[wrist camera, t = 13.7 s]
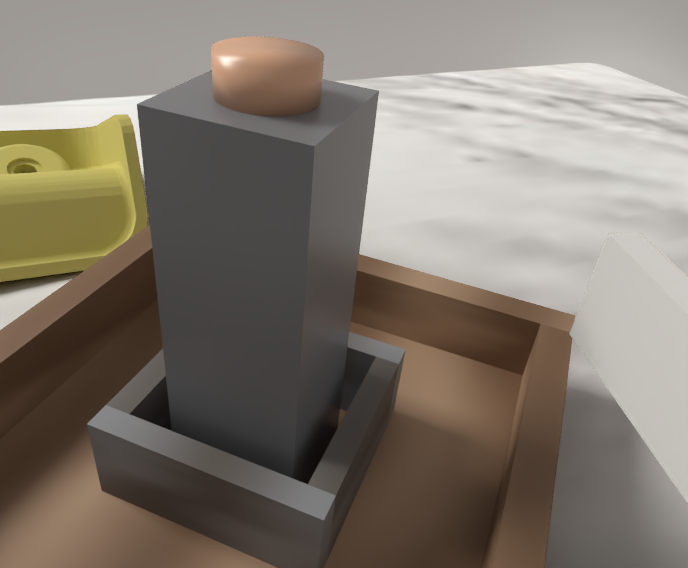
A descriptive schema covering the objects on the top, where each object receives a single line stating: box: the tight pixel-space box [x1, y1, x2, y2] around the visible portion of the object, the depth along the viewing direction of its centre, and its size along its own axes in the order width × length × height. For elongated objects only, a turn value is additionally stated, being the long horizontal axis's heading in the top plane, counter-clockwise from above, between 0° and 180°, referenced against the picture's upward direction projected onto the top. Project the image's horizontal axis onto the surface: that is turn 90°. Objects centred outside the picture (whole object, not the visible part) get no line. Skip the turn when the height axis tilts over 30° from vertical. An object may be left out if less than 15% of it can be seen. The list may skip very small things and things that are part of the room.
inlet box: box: [0, 225, 575, 568], centre depth 20 cm, size 18×18×4 cm
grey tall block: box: [137, 37, 379, 484], centre depth 17 cm, size 4×4×13 cm
